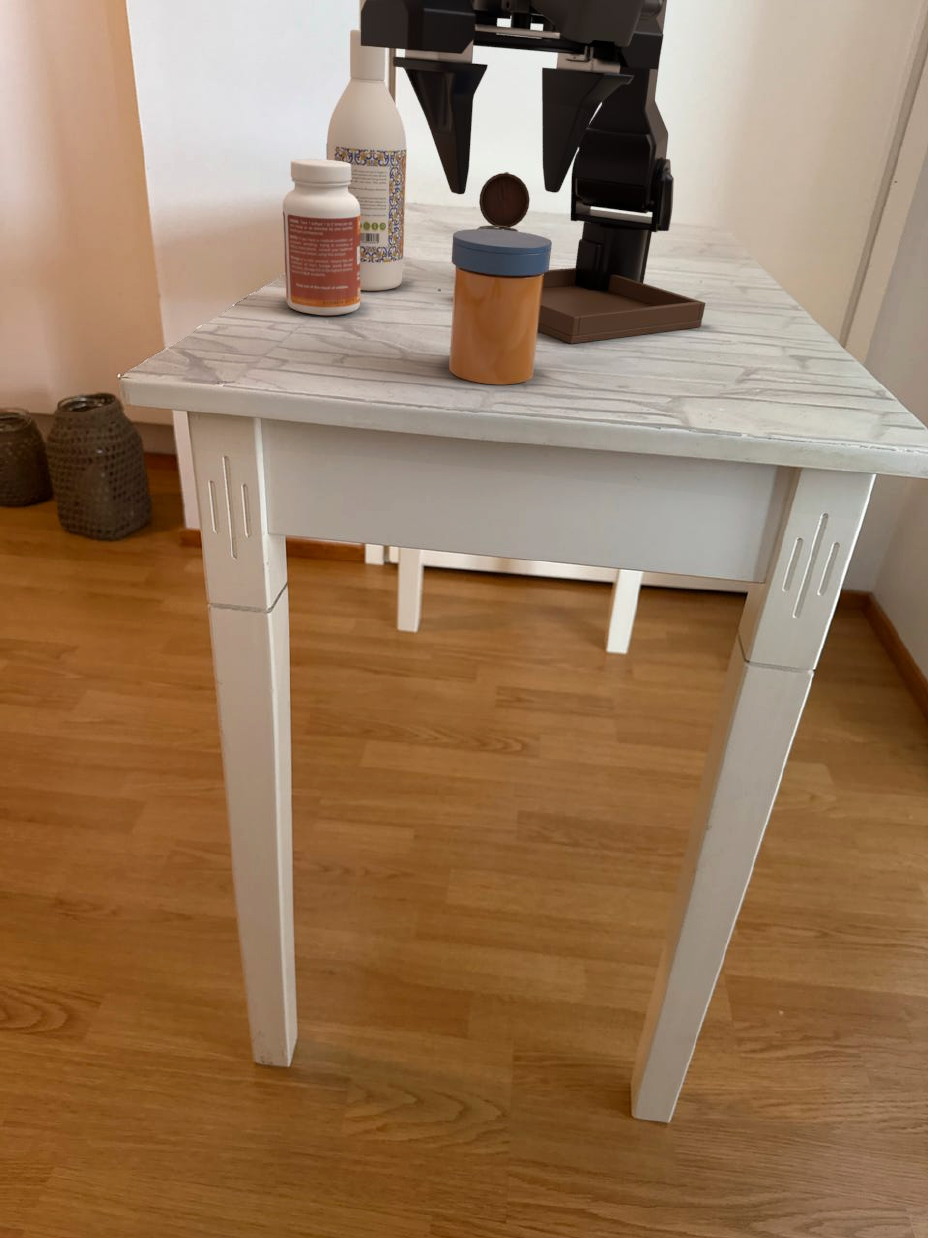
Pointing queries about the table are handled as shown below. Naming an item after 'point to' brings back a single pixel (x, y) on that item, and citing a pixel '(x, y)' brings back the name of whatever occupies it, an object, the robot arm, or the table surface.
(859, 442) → the table surface
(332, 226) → the pill bottle
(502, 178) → the compass
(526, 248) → the lid
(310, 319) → the table surface
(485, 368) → the jar
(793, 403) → the table surface
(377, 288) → the bath foam
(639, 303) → the tray
